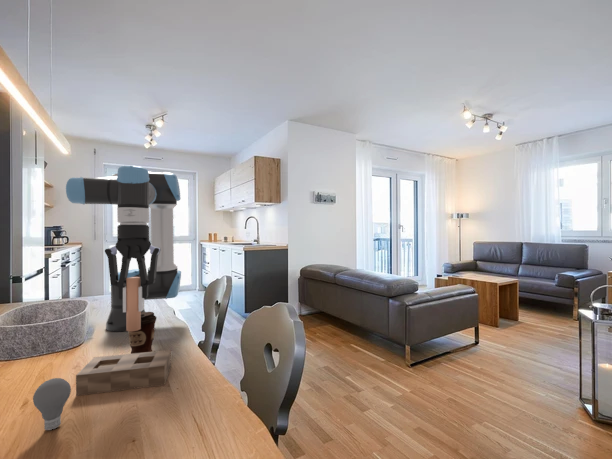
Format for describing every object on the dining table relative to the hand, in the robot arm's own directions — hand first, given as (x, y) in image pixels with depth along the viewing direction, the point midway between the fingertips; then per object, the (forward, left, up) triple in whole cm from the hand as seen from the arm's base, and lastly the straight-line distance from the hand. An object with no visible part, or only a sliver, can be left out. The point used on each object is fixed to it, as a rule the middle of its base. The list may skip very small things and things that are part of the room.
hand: (133, 310), depth 84 cm
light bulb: (+18, -11, -19) cm, 28 cm away
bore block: (0, -2, -19) cm, 19 cm away
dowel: (0, 0, -5) cm, 5 cm away
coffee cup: (-19, -3, -19) cm, 27 cm away
